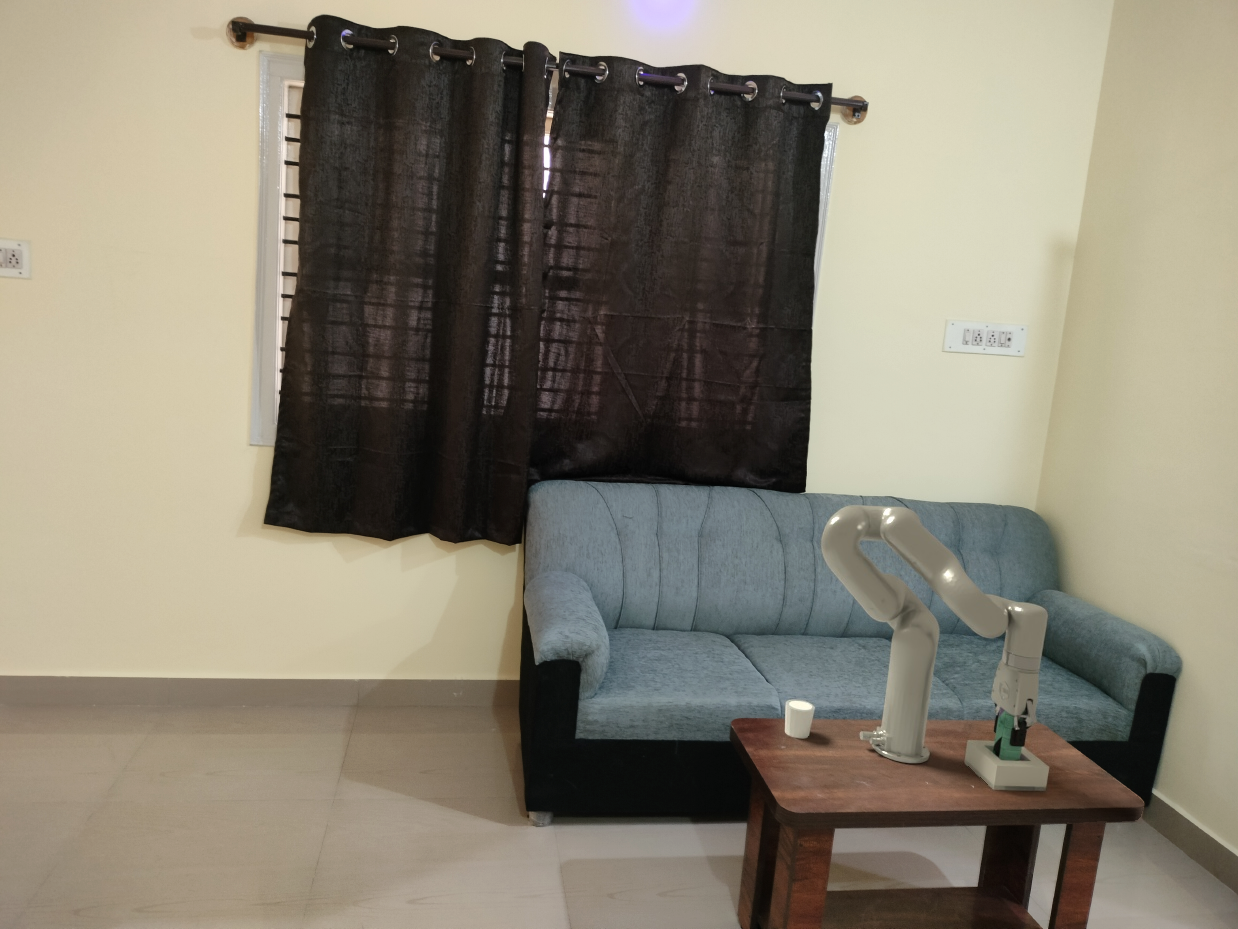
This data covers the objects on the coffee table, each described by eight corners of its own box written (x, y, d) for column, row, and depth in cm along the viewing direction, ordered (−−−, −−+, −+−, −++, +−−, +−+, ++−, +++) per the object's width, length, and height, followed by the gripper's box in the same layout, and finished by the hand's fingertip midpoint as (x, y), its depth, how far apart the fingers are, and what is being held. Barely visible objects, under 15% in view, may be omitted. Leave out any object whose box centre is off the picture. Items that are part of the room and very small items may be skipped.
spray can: (1018, 765, 190) (1031, 679, 188) (1018, 775, 185) (1032, 686, 183) (991, 758, 192) (1004, 673, 190) (990, 768, 187) (1004, 680, 185)
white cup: (809, 728, 205) (813, 701, 204) (813, 741, 198) (817, 712, 198) (780, 725, 206) (784, 697, 205) (783, 737, 199) (787, 708, 198)
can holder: (993, 790, 182) (997, 765, 182) (964, 763, 194) (967, 740, 193) (1045, 791, 184) (1049, 767, 183) (1013, 764, 196) (1016, 741, 195)
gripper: (983, 645, 194) (971, 722, 196) (1028, 674, 177) (1015, 757, 179) (1014, 647, 195) (1002, 723, 197) (1061, 676, 178) (1048, 758, 180)
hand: (1008, 738), depth 188 cm, fingers closed on spray can, 5 cm apart
